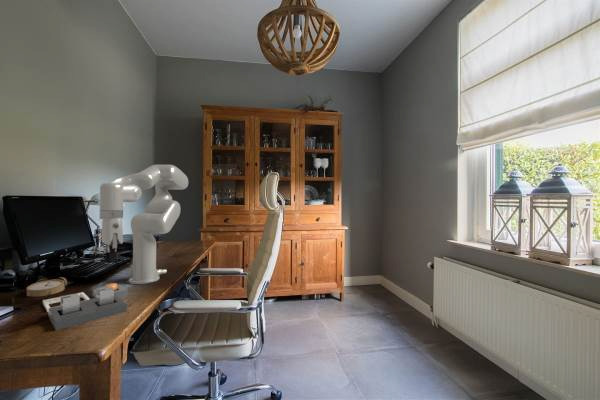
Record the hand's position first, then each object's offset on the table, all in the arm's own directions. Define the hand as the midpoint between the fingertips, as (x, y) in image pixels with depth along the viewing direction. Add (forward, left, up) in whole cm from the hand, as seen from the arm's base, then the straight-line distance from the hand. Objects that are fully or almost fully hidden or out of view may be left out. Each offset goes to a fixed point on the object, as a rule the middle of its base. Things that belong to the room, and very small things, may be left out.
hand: (110, 262), depth 105 cm
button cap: (0, 0, -11) cm, 11 cm away
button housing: (0, 0, -14) cm, 14 cm away
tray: (+12, -4, -14) cm, 19 cm away
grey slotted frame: (+9, +13, -14) cm, 21 cm away
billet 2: (+5, +13, -13) cm, 19 cm away
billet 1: (+14, +13, -13) cm, 23 cm away
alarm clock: (+15, -27, -14) cm, 34 cm away
